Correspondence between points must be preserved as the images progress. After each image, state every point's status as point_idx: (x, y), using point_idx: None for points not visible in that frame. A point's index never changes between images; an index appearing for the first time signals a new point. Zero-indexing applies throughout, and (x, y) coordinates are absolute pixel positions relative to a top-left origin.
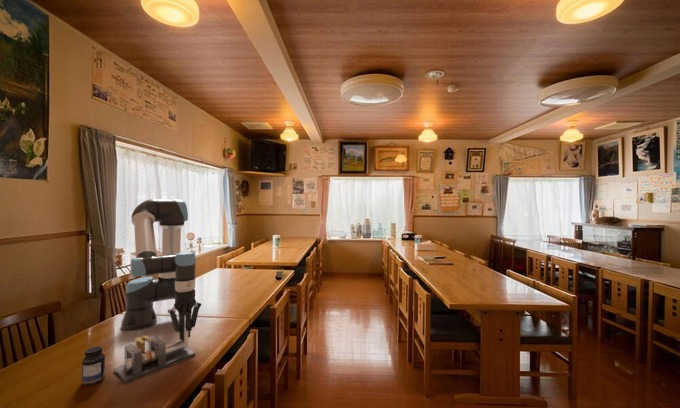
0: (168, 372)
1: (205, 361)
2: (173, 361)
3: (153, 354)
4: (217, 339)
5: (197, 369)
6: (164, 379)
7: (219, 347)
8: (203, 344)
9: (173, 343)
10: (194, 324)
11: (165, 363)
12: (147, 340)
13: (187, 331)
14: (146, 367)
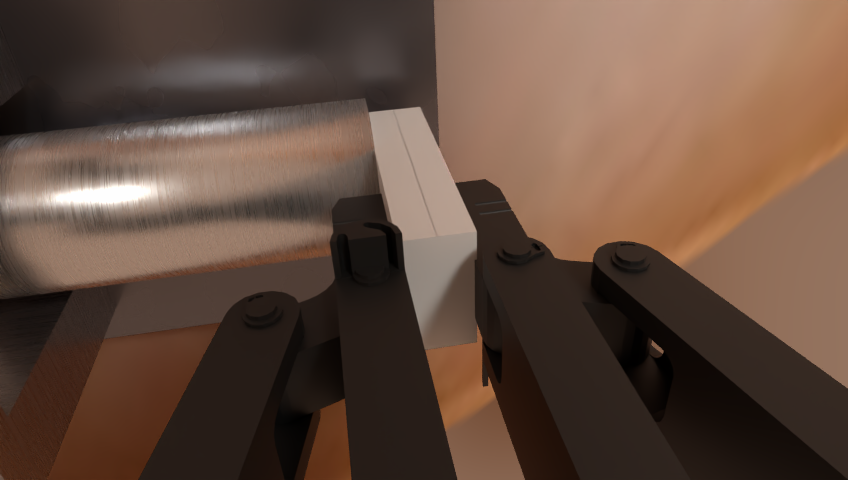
0: (136, 402)
1: (448, 410)
2: (199, 323)
3: None
4: (819, 60)
5: (348, 474)
6: (92, 472)
7: (679, 263)
8: (642, 70)
9: (220, 238)
10: (639, 378)
11: (113, 319)
12: None
13: (460, 341)
14: None
